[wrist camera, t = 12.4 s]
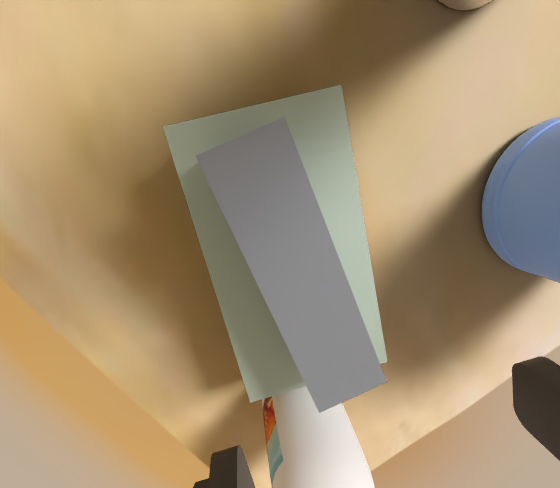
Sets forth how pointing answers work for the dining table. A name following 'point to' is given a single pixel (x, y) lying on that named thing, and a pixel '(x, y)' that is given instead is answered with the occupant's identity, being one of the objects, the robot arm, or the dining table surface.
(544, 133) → the water jug
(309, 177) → the sage shelf
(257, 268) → the grey rectangular brick
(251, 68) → the dining table surface
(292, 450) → the milk bottle
